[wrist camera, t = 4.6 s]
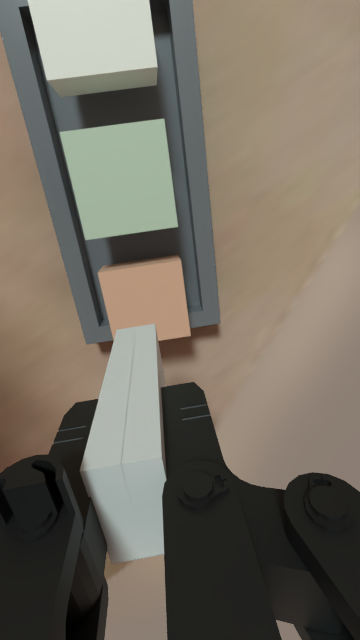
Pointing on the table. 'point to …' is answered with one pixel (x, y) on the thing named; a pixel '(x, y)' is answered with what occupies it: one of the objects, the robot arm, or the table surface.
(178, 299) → the terracotta key
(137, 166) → the sage key
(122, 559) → the robot arm
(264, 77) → the table surface
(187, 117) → the grey rectangular tray
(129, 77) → the ivory key
